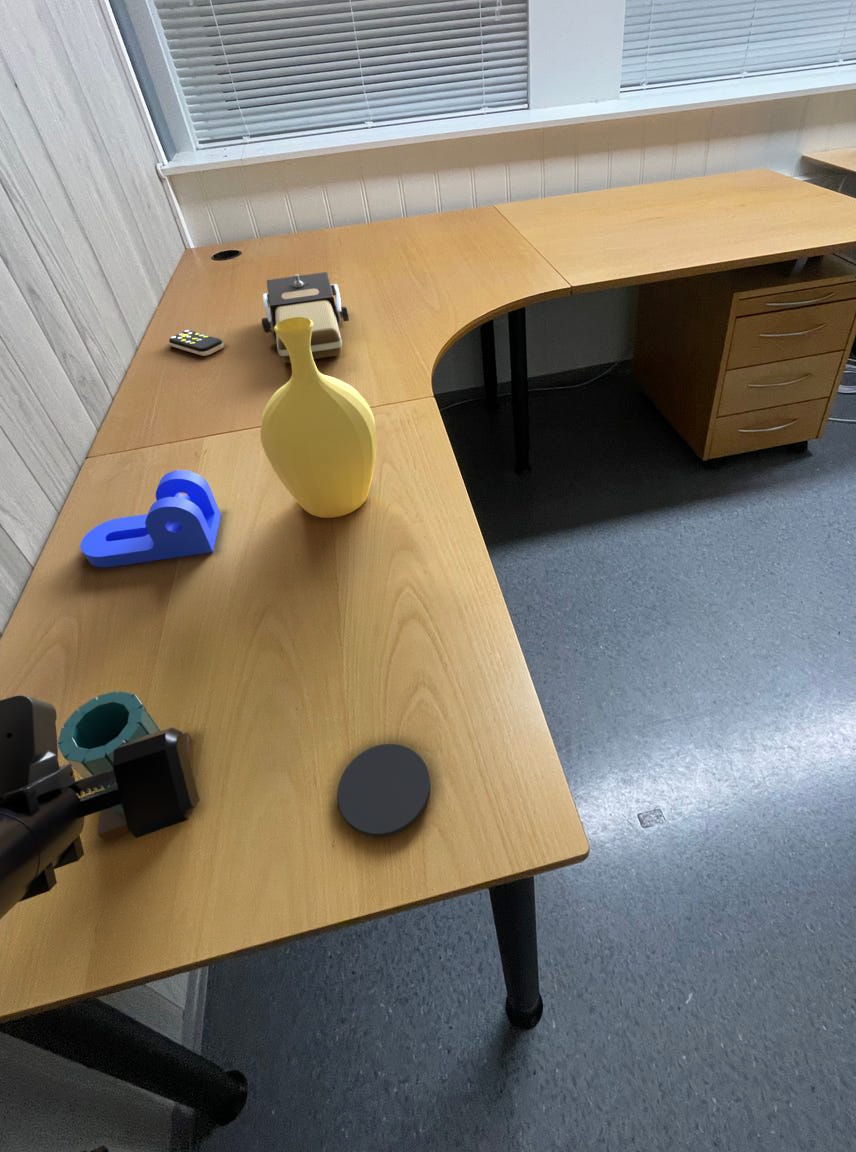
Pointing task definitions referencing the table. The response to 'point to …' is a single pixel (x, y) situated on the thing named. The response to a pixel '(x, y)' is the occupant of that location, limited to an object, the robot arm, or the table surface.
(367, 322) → the table surface
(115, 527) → the bracket
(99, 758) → the slatted teal pen holder
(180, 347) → the remote control
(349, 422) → the vase
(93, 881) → the table surface
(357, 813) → the pad
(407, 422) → the table surface
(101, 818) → the stand
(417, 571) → the table surface
